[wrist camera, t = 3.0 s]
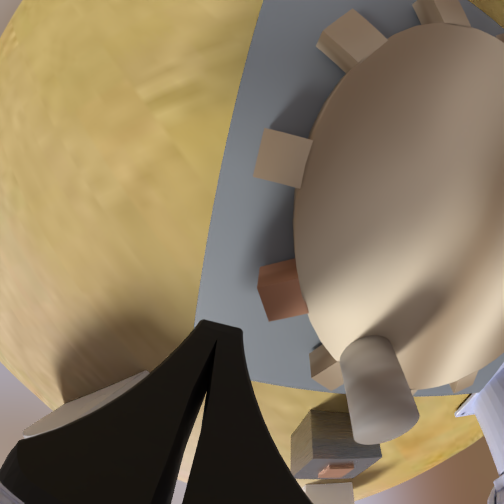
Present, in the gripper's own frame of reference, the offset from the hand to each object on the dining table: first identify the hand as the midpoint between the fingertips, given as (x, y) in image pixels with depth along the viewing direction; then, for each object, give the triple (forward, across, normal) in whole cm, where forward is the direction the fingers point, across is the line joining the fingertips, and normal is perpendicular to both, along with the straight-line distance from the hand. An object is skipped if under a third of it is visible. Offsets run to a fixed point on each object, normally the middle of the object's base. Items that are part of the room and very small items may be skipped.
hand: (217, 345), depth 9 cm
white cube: (+4, -16, +28) cm, 33 cm away
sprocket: (+3, -9, -6) cm, 11 cm away
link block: (+4, -9, +10) cm, 15 cm away
